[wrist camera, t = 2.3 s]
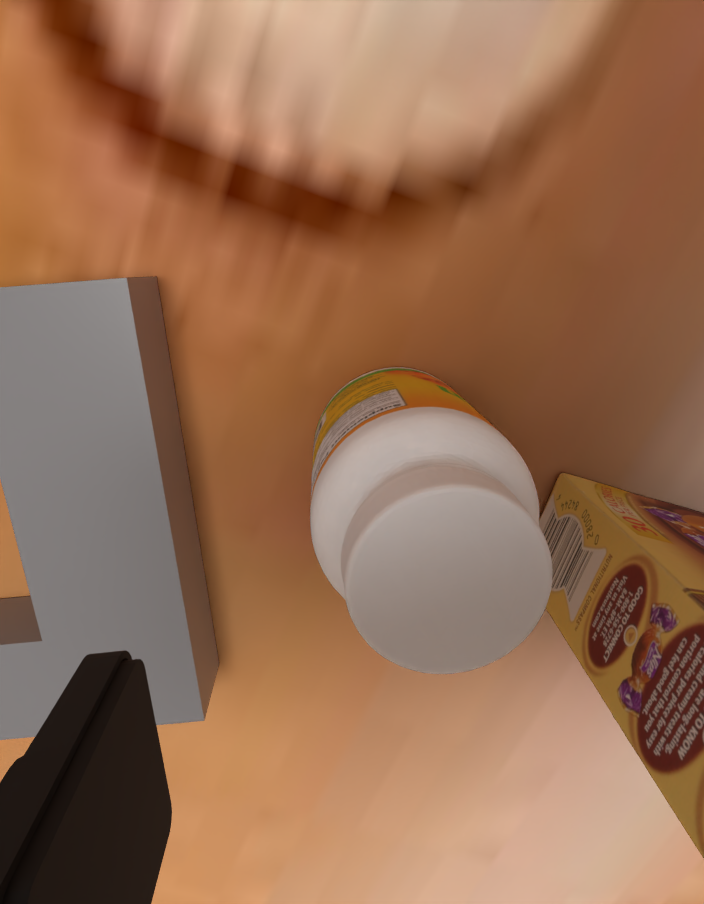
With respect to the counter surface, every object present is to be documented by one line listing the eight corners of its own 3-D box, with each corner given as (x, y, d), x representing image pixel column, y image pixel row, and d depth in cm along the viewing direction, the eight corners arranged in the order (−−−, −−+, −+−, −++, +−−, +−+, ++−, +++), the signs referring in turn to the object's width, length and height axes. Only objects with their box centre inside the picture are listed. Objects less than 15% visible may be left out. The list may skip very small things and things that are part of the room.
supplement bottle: (500, 460, 21) (643, 612, 12) (372, 544, 22) (410, 751, 12) (415, 331, 20) (499, 387, 10) (281, 426, 20) (246, 559, 11)
